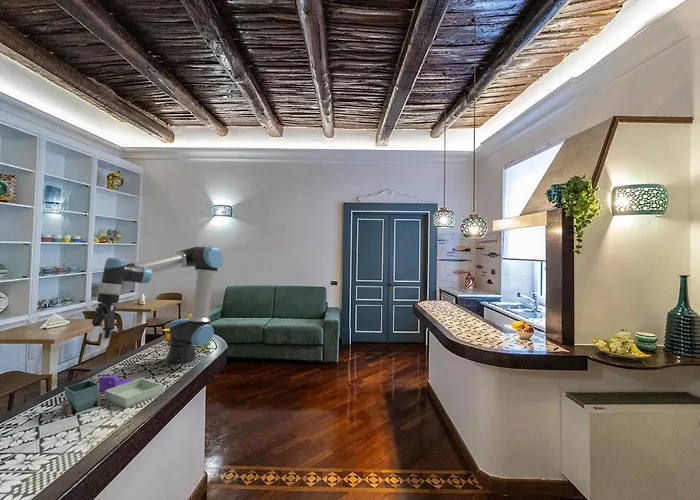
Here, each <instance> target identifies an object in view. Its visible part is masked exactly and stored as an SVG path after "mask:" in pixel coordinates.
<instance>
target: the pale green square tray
mask: <svg viewBox="0 0 700 500" xmlns="http://www.w3.org/2000/svg"><path fill="white" fill-rule="evenodd" d="M163 394H164V384H162V383H160V382H156V381H153V380H149V379H147V378H144V377H140V378H138V379H134V380H131V382H128V383H125V384H122V385H119V386H117V387H114V388H111V389H108V390H105V393H104V401H106V402H109V403H111V404H113V405H116V406H119V407H121V408H123V409H128V408H132V407H133V406H135V405H138V404H141V403H144V402H146V401H148V400H151V399H154V398H155V397H156V398H157V397H159V396H160V395H163Z"/></svg>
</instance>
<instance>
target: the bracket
mask: <svg viewBox="0 0 700 500" xmlns="http://www.w3.org/2000/svg"><path fill="white" fill-rule="evenodd" d="M98 381H99V382H98V384H99V391H98V392H100V393H102V394H103V393H104V394H105V390H108V389H111V388H114V387H117V386H119V385H122V384H125V383H128V382H131V381H132V378H119V377H118V376H117V375H102V376H100V377H99V379H98Z"/></svg>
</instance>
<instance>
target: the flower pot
mask: <svg viewBox="0 0 700 500" xmlns="http://www.w3.org/2000/svg"><path fill="white" fill-rule="evenodd" d="M64 391H65V392H64V393H65V398H66V399H65V400H67V404H71V410H74V411H76V412H81V411H84V410H87V409H90V408H92V407H93V406H94V405H95V404H96V403H95V402H96V400H97V397H98V392H99V383H98V382H97V383H96V382H94V381H93V380H91V379H89V380H85V381H82V382H78V383H76V384H72V385H68V386H65V387H64Z"/></svg>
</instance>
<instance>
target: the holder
mask: <svg viewBox="0 0 700 500" xmlns="http://www.w3.org/2000/svg"><path fill="white" fill-rule="evenodd" d="M102 399H103V393H100V392H99V391H98V397H97V400H96V402H95V403H94V404H97V406H96V407H101V406H102V403H103V400H102ZM61 415H63V416H65V415H66V416H65V417H69V416H71V415H72V407H71V404H69V403H68V401H67V399H63V400H62V402H61Z"/></svg>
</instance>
